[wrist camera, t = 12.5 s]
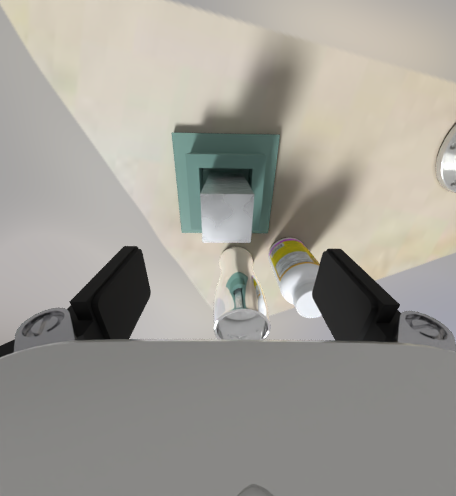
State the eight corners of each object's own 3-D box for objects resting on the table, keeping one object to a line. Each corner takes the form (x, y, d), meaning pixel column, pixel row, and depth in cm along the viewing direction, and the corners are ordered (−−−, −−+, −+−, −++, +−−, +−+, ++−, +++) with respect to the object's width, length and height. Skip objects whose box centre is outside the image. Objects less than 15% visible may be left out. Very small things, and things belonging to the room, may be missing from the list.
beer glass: (225, 238, 34) (226, 300, 21) (261, 252, 35) (284, 318, 22) (210, 269, 37) (203, 341, 24) (244, 281, 38) (255, 355, 25)
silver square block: (242, 172, 28) (254, 194, 17) (240, 204, 30) (250, 242, 19) (210, 172, 28) (200, 193, 16) (210, 203, 30) (202, 242, 19)
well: (278, 134, 27) (288, 133, 22) (266, 230, 33) (273, 244, 29) (173, 132, 26) (163, 131, 22) (182, 230, 33) (176, 243, 29)
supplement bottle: (303, 266, 37) (338, 322, 26) (267, 270, 37) (286, 326, 26) (306, 233, 34) (348, 280, 22) (267, 237, 34) (289, 285, 23)
